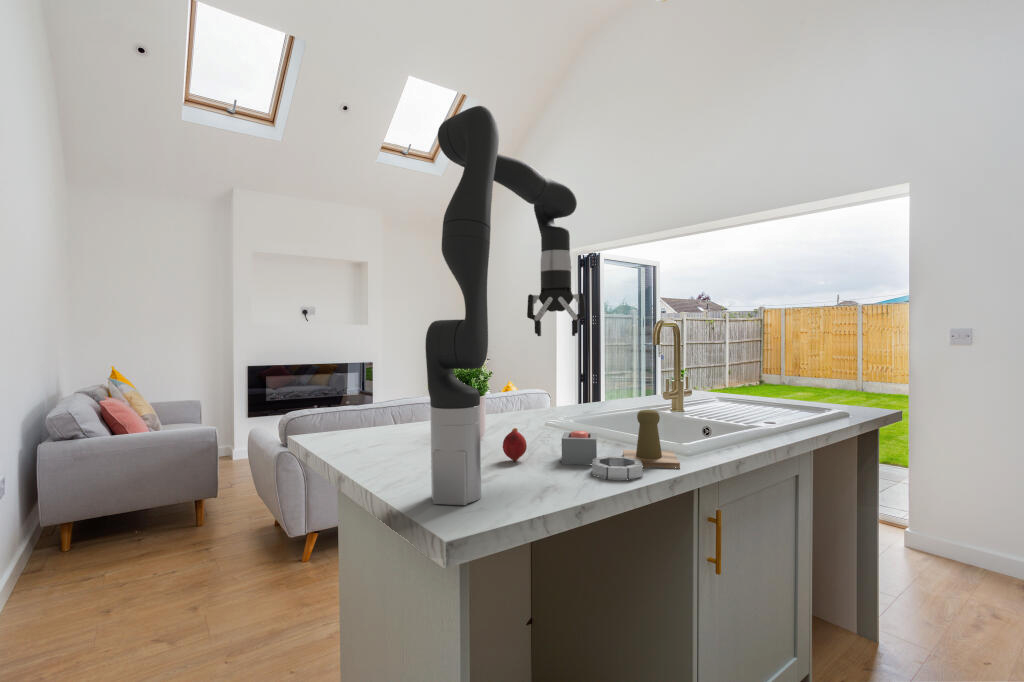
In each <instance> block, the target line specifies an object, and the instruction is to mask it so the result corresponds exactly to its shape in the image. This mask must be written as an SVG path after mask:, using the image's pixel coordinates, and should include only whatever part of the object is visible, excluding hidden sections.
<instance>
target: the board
mask: <svg viewBox="0 0 1024 682" xmlns="http://www.w3.org/2000/svg"><path fill="white" fill-rule="evenodd" d="M636 450H637V449H623V450H622V455H623V456H624V457H630V458H634V459H638V460H640V461H641V462H642V466H643V467H642V468H649V467H663V468H662V469H681V463H680V461H679V460H678V457H677V456H676V455H675V453H674V451H671V450H661V453H662V458H659V459H643V458H639V457H637V456H636ZM675 467H676V468H675Z"/></svg>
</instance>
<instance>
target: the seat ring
mask: <svg viewBox="0 0 1024 682" xmlns="http://www.w3.org/2000/svg"><path fill="white" fill-rule="evenodd" d="M591 466H592V467H591V468H592V472H591V473H592V474H593V475H595V476H594V477H597V476H599V477H598V478H600V477H602V478H601V479H603V478H605V479H604V480H608V479H612V480H611V481H631V480H630V479H633V480H636V479H635V478H637V479H639V478H638V477H641V478H643V477H642V476H644V475H643V472H644V471H643V467H642V462H641V461H640V460H638V459H634V458H630V457H623V456H617V455H613V456H612V455H607V456H600V457H597V458H594V459H593V461H592V465H591ZM593 475H592V476H593ZM613 479H615V480H613ZM627 479H629V480H627Z"/></svg>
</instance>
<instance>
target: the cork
mask: <svg viewBox="0 0 1024 682" xmlns="http://www.w3.org/2000/svg"><path fill="white" fill-rule="evenodd" d="M636 418H637V423H639V427H638V435H637V444H636V449H635V450H636V456H637V457H639V458H643V459H659V458H662V453H661V451H662V448H661V440H660V433H659V427H658V424H659V423H660V420H661V417H660V414H659V412H658V411H657V410H654V409H640V410H639V411H638V412H637V414H636Z"/></svg>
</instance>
